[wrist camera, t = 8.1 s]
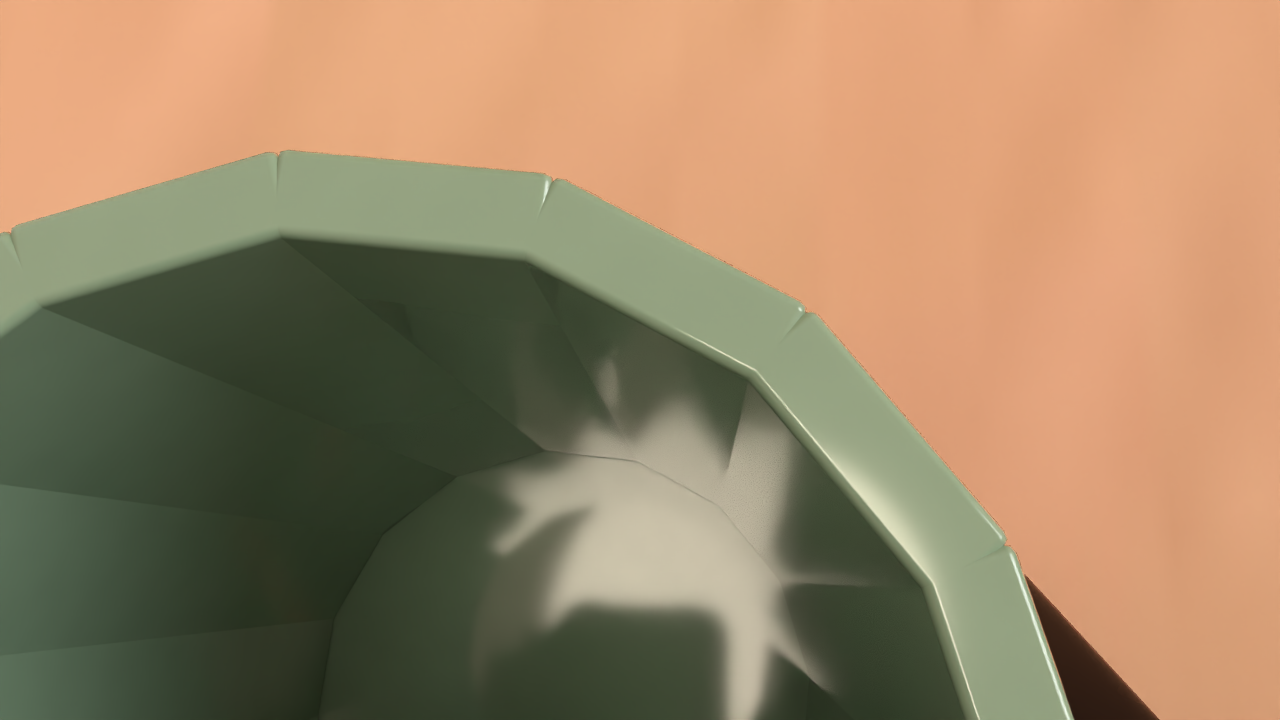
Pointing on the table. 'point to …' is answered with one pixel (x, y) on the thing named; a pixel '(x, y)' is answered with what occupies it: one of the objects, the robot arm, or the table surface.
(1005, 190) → the table surface
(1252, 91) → the table surface
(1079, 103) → the table surface
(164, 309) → the canister
